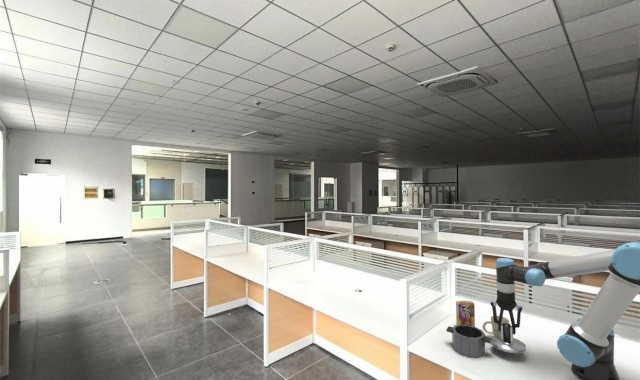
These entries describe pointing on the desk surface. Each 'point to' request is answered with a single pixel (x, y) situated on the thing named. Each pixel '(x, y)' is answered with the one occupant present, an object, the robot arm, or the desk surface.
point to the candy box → (465, 313)
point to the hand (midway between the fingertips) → (507, 339)
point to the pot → (468, 340)
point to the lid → (507, 341)
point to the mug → (495, 325)
